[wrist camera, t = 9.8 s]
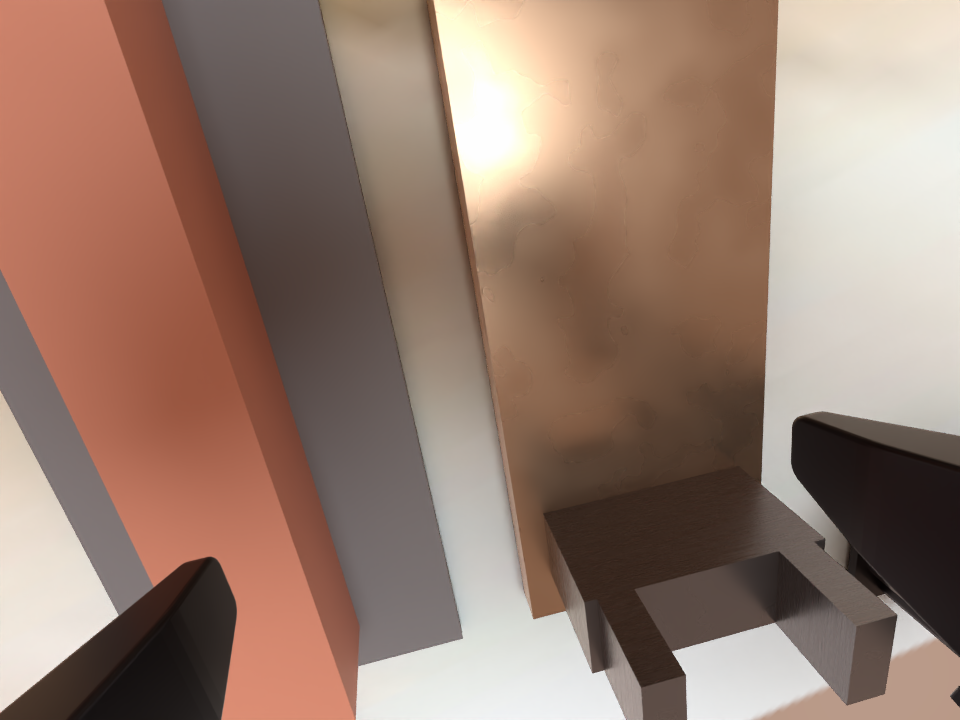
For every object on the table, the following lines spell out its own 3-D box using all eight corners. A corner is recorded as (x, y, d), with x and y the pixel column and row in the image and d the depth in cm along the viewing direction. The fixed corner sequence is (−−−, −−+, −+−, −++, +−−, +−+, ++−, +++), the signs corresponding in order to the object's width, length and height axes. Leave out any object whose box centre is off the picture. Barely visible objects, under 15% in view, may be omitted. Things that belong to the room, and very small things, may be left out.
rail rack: (737, 537, 25) (918, 727, 16) (524, 592, 24) (602, 825, 15) (751, -300, 15) (1245, -917, 6) (382, -268, 14) (385, -956, 5)
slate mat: (460, 627, 24) (462, 638, 23) (176, 701, 22) (171, 715, 22) (247, -314, 13) (241, -335, 12) (-323, -270, 12) (-359, -292, 11)
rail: (359, 626, 22) (355, 720, 18) (259, 652, 22) (234, 753, 18) (96, -206, 13) (-22, -359, 9) (-91, -189, 12) (-296, -342, 9)
